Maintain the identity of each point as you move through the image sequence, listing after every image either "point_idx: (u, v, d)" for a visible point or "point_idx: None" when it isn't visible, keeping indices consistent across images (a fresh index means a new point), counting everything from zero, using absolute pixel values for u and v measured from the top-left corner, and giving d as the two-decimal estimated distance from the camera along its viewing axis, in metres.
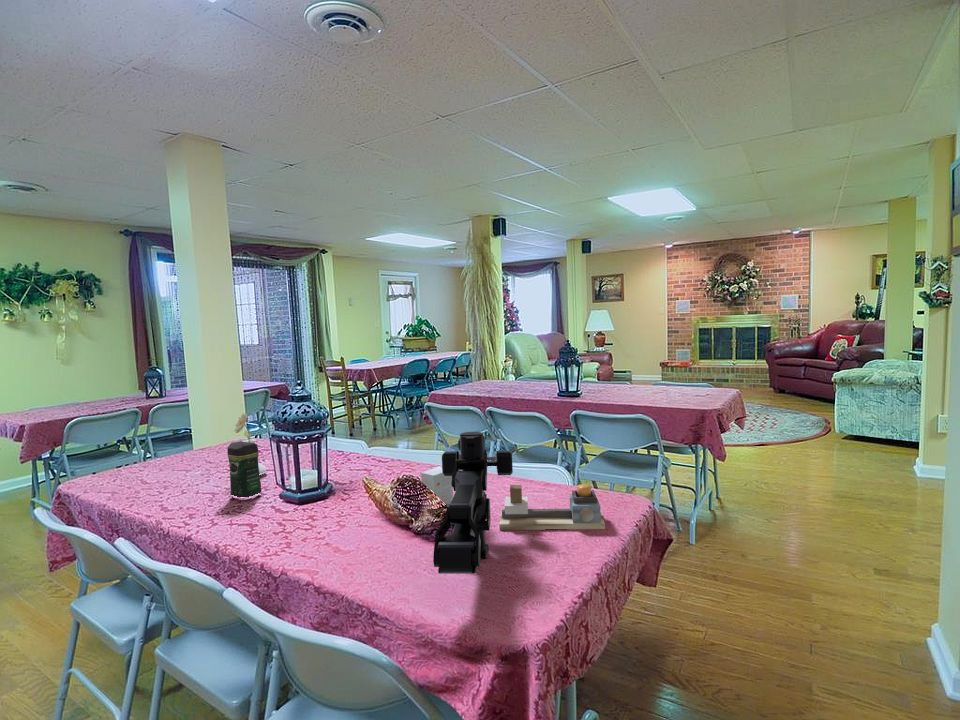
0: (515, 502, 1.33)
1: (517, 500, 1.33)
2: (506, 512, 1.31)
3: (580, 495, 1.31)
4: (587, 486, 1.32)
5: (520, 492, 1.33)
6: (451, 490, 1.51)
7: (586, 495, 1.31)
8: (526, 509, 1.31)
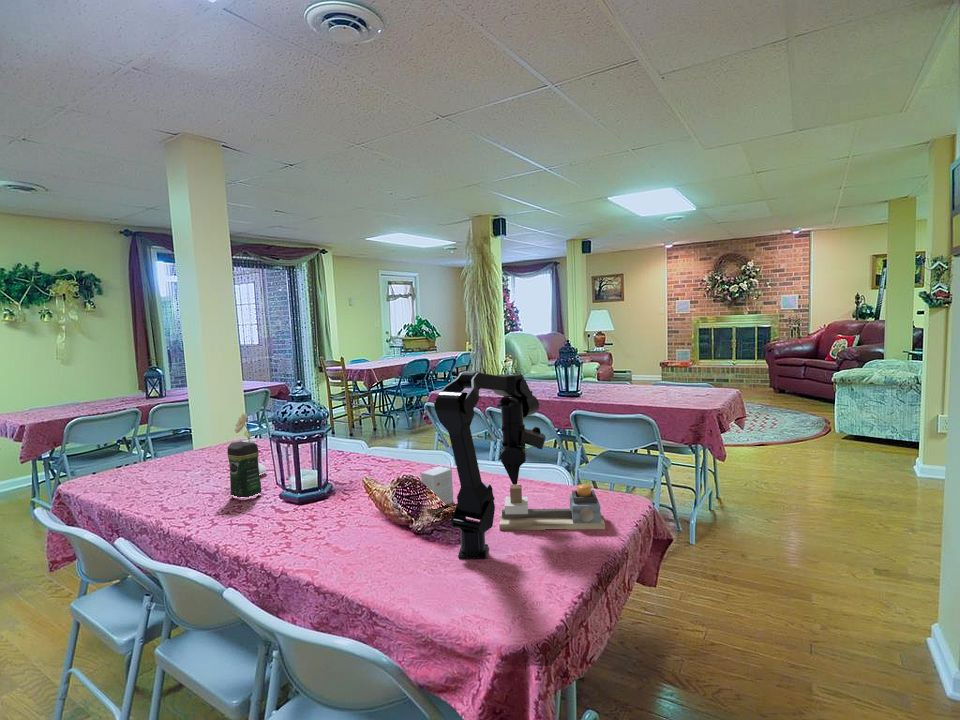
0: (515, 502, 1.33)
1: (517, 500, 1.33)
2: (506, 512, 1.31)
3: (580, 495, 1.31)
4: (587, 486, 1.32)
5: (520, 492, 1.33)
6: (451, 490, 1.51)
7: (586, 495, 1.31)
8: (526, 509, 1.31)
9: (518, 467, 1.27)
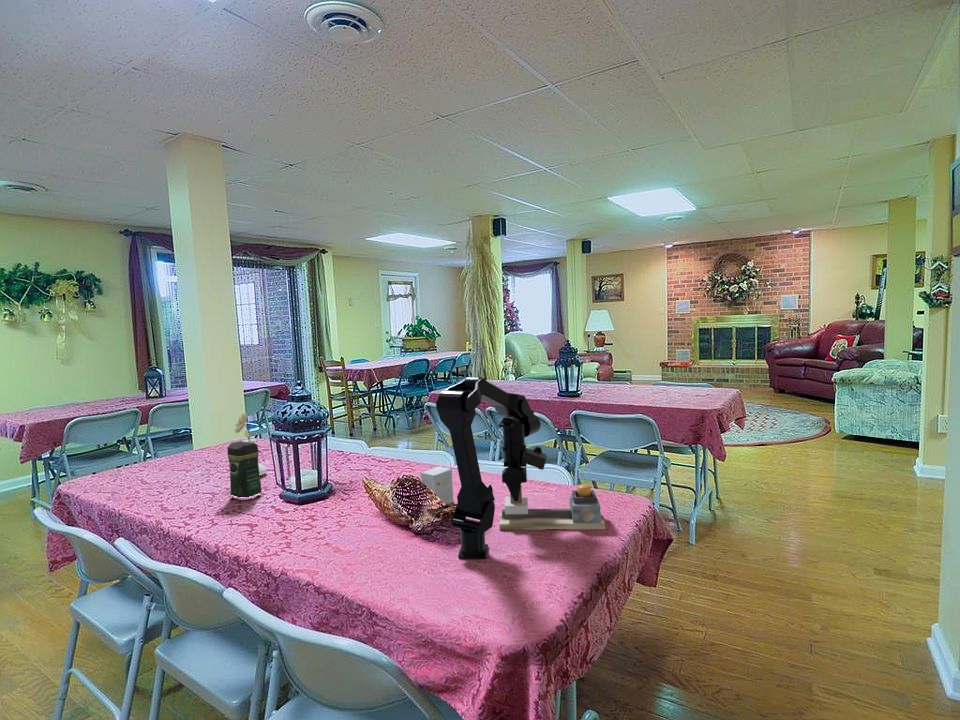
0: (515, 502, 1.33)
1: None
2: (506, 512, 1.31)
3: (580, 495, 1.31)
4: (587, 486, 1.32)
5: (520, 492, 1.33)
6: (451, 490, 1.51)
7: (586, 495, 1.31)
8: (526, 509, 1.31)
9: (519, 484, 1.30)
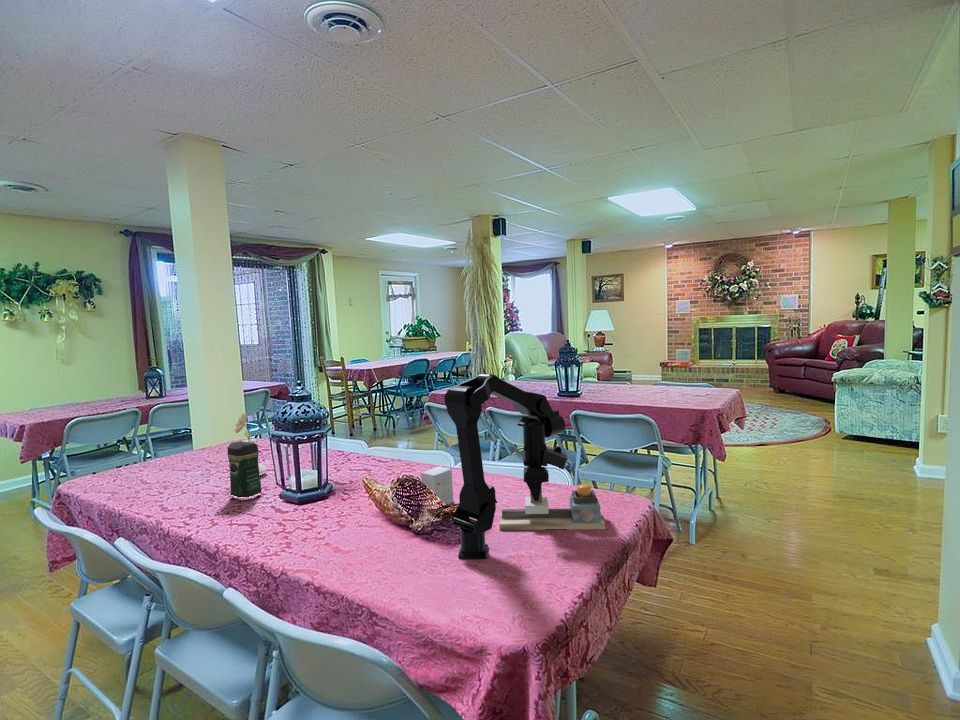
0: (535, 502, 1.32)
1: None
2: (526, 512, 1.31)
3: (580, 495, 1.31)
4: (587, 486, 1.32)
5: (540, 492, 1.32)
6: (451, 490, 1.51)
7: (586, 495, 1.31)
8: (547, 509, 1.30)
9: (540, 484, 1.30)
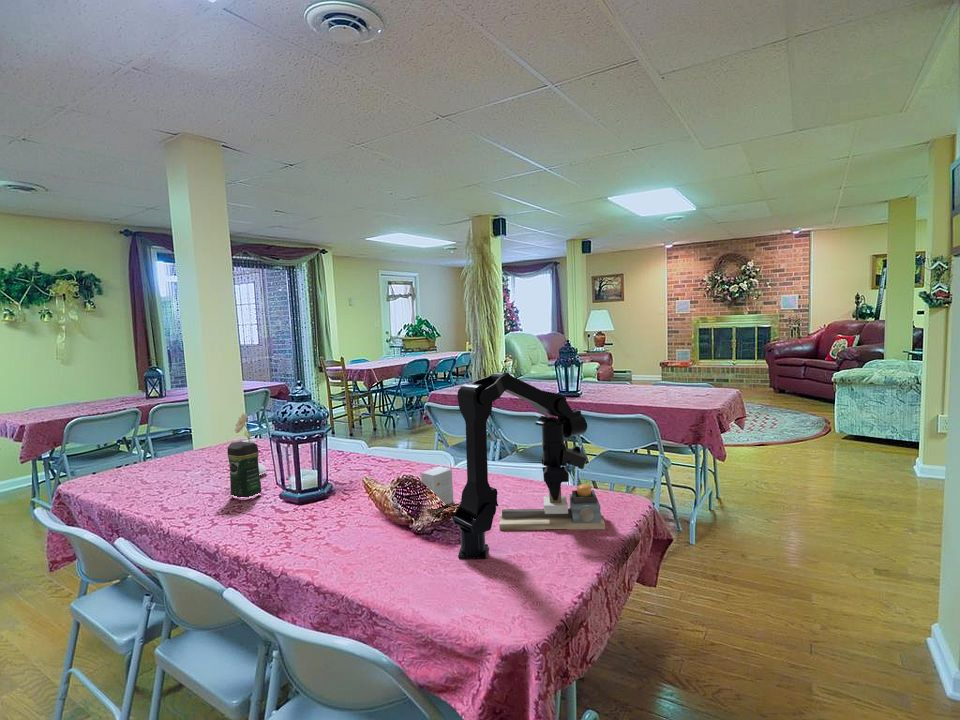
0: (554, 502, 1.32)
1: (556, 500, 1.32)
2: (546, 512, 1.30)
3: (580, 495, 1.31)
4: (587, 486, 1.32)
5: (560, 491, 1.32)
6: (451, 490, 1.51)
7: (586, 495, 1.31)
8: (566, 509, 1.30)
9: (559, 483, 1.29)
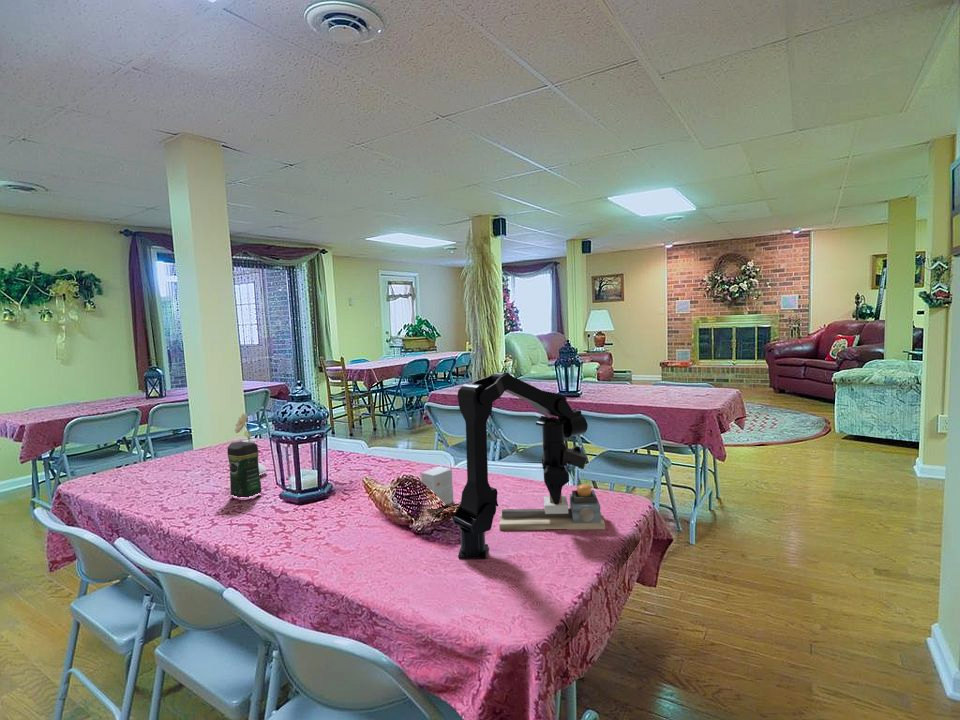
0: None
1: None
2: (546, 512, 1.30)
3: (580, 495, 1.31)
4: (587, 486, 1.32)
5: None
6: (451, 490, 1.51)
7: (586, 495, 1.31)
8: (566, 509, 1.30)
9: (561, 487, 1.27)
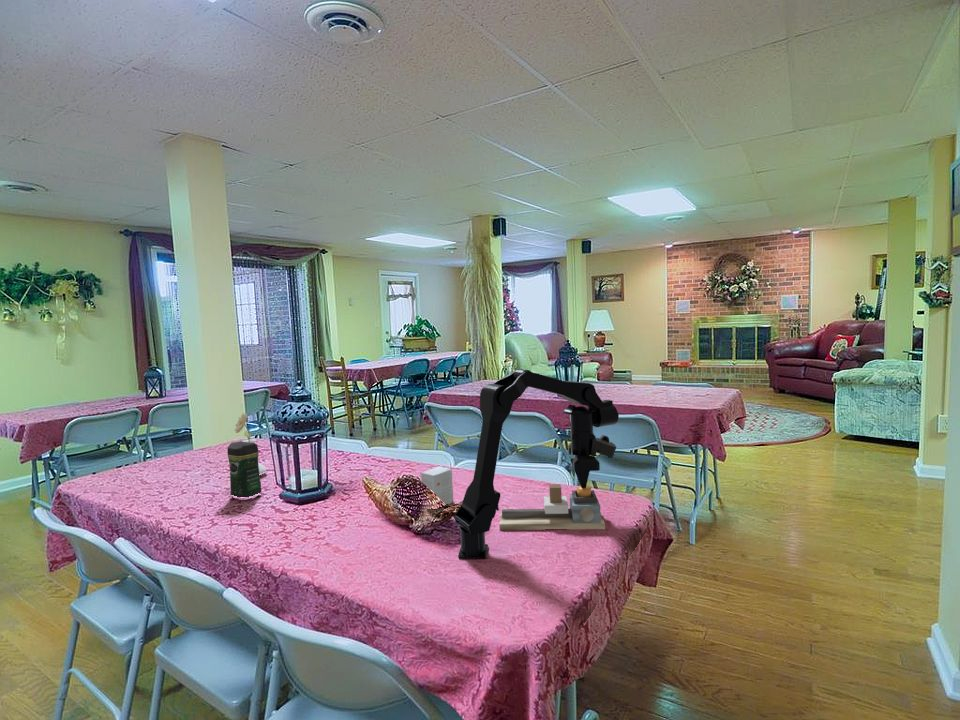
0: (555, 502, 1.32)
1: (557, 500, 1.32)
2: (546, 512, 1.30)
3: (580, 496, 1.31)
4: (587, 487, 1.32)
5: (560, 491, 1.32)
6: (451, 490, 1.51)
7: (586, 496, 1.31)
8: (566, 509, 1.30)
9: (588, 471, 1.30)
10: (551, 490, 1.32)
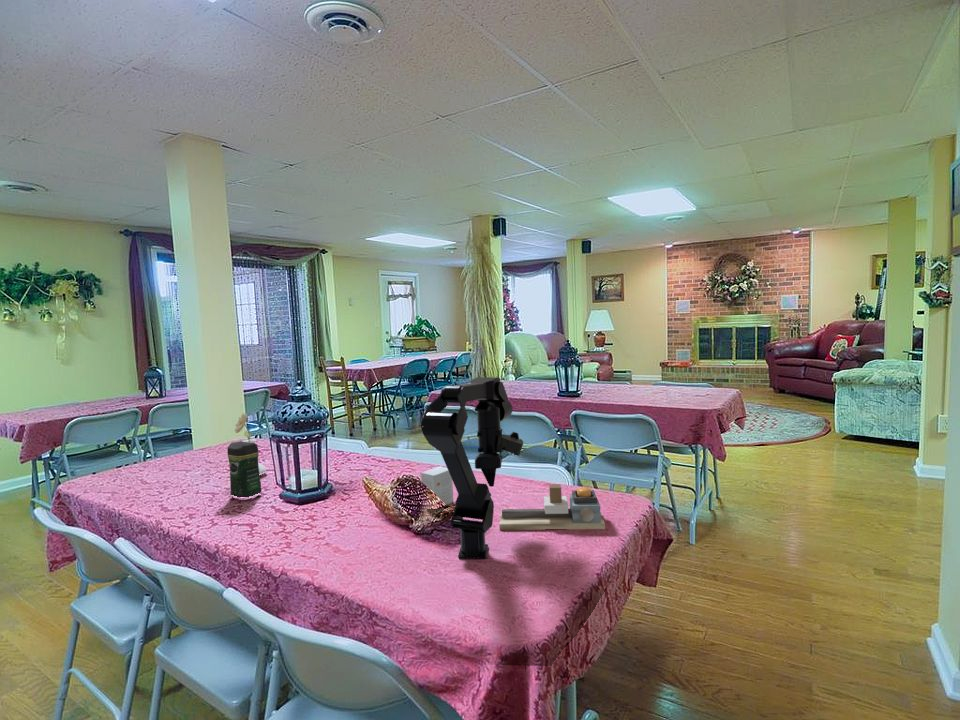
0: (555, 502, 1.32)
1: (557, 500, 1.32)
2: (546, 512, 1.30)
3: None
4: (587, 489, 1.32)
5: (560, 491, 1.32)
6: (451, 490, 1.51)
7: None
8: (566, 509, 1.30)
9: (494, 469, 1.26)
10: (551, 490, 1.32)
